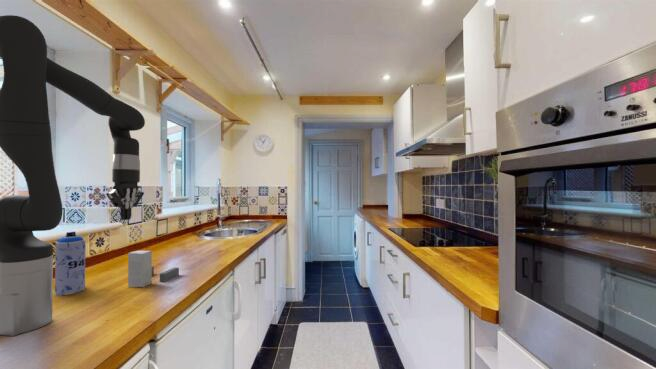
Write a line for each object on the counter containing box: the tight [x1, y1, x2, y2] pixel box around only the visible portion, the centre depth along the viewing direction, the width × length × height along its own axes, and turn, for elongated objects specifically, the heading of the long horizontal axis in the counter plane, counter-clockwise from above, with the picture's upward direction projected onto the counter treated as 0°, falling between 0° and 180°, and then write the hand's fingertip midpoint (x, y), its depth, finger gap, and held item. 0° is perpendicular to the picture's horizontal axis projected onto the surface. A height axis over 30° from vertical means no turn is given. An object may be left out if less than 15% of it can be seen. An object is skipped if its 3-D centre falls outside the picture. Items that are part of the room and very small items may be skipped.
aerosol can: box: [53, 231, 87, 296], centre depth 93 cm, size 8×8×20 cm
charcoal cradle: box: [152, 266, 180, 283], centre depth 106 cm, size 8×13×3 cm, turn 83°
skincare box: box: [127, 250, 153, 288], centre depth 98 cm, size 6×4×12 cm
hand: (126, 219), depth 93 cm, fingers closed
